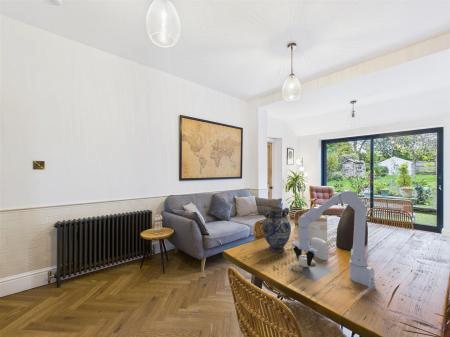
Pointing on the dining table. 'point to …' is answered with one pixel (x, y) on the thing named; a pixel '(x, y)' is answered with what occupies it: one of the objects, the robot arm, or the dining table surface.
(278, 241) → the decorative vase
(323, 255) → the photo printer
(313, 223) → the coffeecake box
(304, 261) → the octagonal pipe segment
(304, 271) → the gear board
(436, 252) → the dining table surface
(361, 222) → the robot arm
